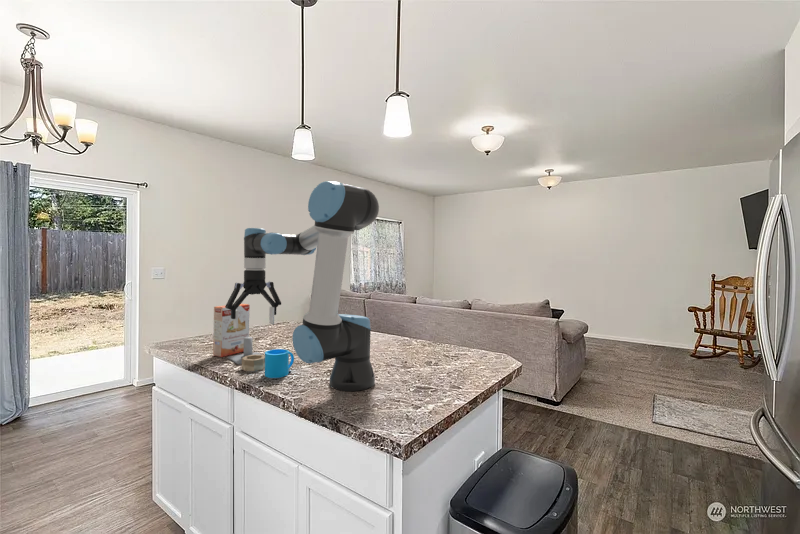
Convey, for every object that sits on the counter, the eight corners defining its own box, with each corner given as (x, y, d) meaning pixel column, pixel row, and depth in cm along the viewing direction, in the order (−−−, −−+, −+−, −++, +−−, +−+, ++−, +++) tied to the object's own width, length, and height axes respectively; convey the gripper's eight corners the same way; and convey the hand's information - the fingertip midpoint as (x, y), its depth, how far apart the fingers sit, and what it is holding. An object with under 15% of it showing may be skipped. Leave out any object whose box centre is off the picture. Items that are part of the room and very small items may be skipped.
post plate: (268, 359, 152) (268, 338, 152) (238, 364, 144) (238, 342, 144) (256, 353, 161) (256, 333, 161) (227, 358, 153) (227, 337, 153)
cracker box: (222, 357, 153) (222, 307, 153) (212, 355, 156) (212, 306, 155) (249, 350, 166) (250, 303, 165) (240, 348, 168) (240, 302, 168)
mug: (275, 379, 128) (275, 356, 128) (259, 375, 132) (259, 352, 132) (301, 370, 138) (301, 348, 138) (285, 367, 142) (286, 345, 142)
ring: (268, 368, 140) (269, 357, 140) (247, 372, 135) (247, 361, 135) (260, 363, 146) (260, 353, 146) (239, 367, 141) (239, 356, 140)
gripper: (281, 268, 151) (281, 320, 151) (216, 269, 134) (215, 328, 134) (290, 269, 145) (289, 323, 146) (223, 270, 128) (222, 331, 129)
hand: (254, 325), depth 140 cm, fingers open, 13 cm apart
